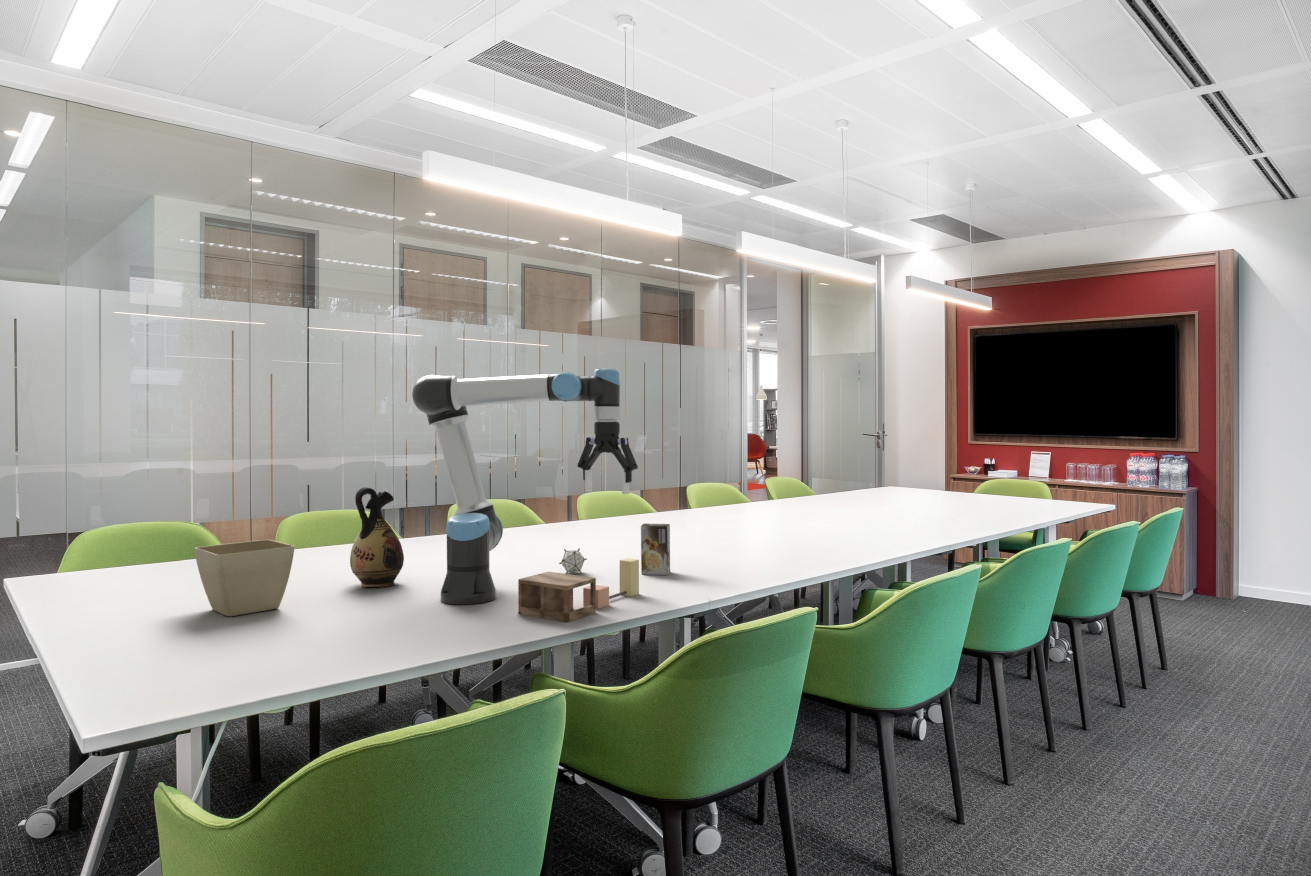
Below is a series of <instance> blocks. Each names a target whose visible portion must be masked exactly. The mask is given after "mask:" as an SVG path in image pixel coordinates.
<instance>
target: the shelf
mask: <svg viewBox="0 0 1311 876" xmlns="http://www.w3.org/2000/svg"><path fill="white" fill-rule="evenodd" d="M517 583H518V584H517V585H518V589H517V590H518V591H517V592H518V596H517V597H518V598H517V599H518V600H517V601H518V602H517V603H518V609H517V610H518V612H517V613H518V615H523V616H528V615H529V616H530V617H535V618H540V619H545V620H551V621H558V622H562V623H563V622H564V623H569V622H573V621H574V620H577V619H581V618H583V617H585V616H588V615H592V614H594V613H596V612H597V609H596V585H597V577H590V576H584V575H575V574H569V573H567V574H566V573H562V572H553V571H545V572H541V573H537V574H533V575H530V576H526V577H521V578H518V582H517ZM589 584H590V585H589ZM586 585H589V586H590V605H589V606H586V607H584V606H583V607H580V608H577V609H574V589H575V588H579V587H583V586H586ZM573 609H574V610H573ZM570 610H571V611H570ZM529 616H528V617H529Z"/></svg>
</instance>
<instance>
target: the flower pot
mask: <svg viewBox="0 0 1311 876" xmlns="http://www.w3.org/2000/svg"><path fill="white" fill-rule="evenodd" d="M295 547H296V546H295V545H293V544H289V543H285V542H281V541H277V540H273V539H260V540H250V541H249V540H248V541H240V542H231V543H222V544H221V543H220V544H213V545H204V546H196V547H193V550H194V556H195V561H196V565H197V569H198V573H199V575H200V576H199V577H200V580H201V584H202V586H203V590H204V592H205V595H206V597H207V600H208V602H209V605H210V606H211V609H212V611H215V612H217V613H219V614H221V615H224V616H225V617H234V616H241V615H246V614H253V613H258V612H264V611H271V610H275V609H279V608H280V605H281V603H282V600H283V598H284V595H285V592H286V589H287V586H288V582H289V578H290V575H291V570H292V566H293V565H292V564H293V561H294V553H295Z"/></svg>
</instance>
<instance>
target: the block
mask: <svg viewBox="0 0 1311 876" xmlns="http://www.w3.org/2000/svg"><path fill="white" fill-rule="evenodd" d="M582 590H583V591H582V598H583V600H582V601H583V602H582V606H583V607H586V606H589V605H590V585H588V586H586V587H583V588H582ZM623 595H625V596H624V597H630V596H632V597H635V596H637V595H640V560H639V559H636V558H623V559H620V560H619V593H615V594H612V595H610V586H607V585H606V586H605V585H600V584H596V610H597V609H601V608H605V607H607V606H609V605H610V600H612V599H615V598H617V597H621V596H623ZM634 595H635V596H634Z"/></svg>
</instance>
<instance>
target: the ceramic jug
mask: <svg viewBox="0 0 1311 876" xmlns="http://www.w3.org/2000/svg"><path fill="white" fill-rule="evenodd" d="M366 495H370V499H369V500H368V501H367V503H366V505H365V507H364V503H363V497H364V496H366ZM354 498H355V499H354V500H355V506H356V508H357V512H358V514H359V517H360V520H361V529H360V531H359V532H358V533H357V536H356V537H355V539H354V541H353V544H352V546H351V551H350V556H349V557H350V558H349V564H350V569H351V572H352V574H353V575H355V577H356V578H357V580H359V582H360V583H361V586H362V587H363V588H366V587H367V588H368V587H370V588H384V587H391V586H394V585H395V580H396V579H397V577H398V575H399V574H400V572H401V570H402V569H403V567H404V561H405V560H404V559H405V555H404V549H403V546H402V543H401V541H400V539H399V538H398V535H397V533H396V532H395V531H394V529H393V528H392V527H391V525H390V524H389V523H388V522H387V520H385V518H384V517H383V512H382V509H383V507H385V506H386V505H388V504H390V503H391V502H394V501H395V500H394V499H395V498H394V497H393V495H392V494H391V493H389V492H388V491H386V490H385V491H383V492H381V491H379V492H378V493H377V491H375V489H373V488H371V487H366V486H365V487H362V488H360V489H358V490H357V491H356V493H355V496H354ZM366 510H369V514H367V513H366Z"/></svg>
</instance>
